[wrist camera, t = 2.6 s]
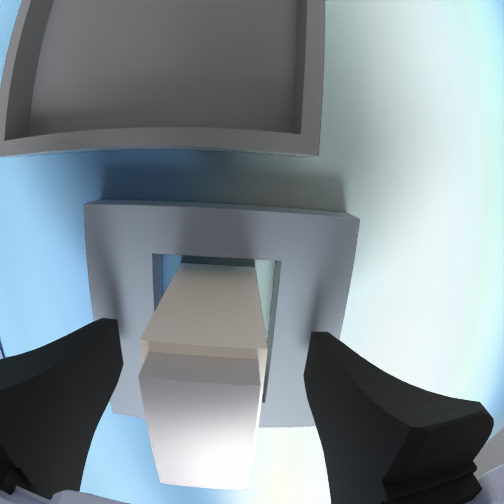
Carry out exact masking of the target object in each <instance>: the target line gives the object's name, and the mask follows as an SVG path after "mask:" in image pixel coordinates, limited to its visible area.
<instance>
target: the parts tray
mask: <svg viewBox="0 0 504 504" xmlns="http://www.w3.org/2000/svg"><path fill="white" fill-rule="evenodd" d="M324 34H325V0H22V2H21V5H20V8H19V11H18V15H17V18H16V21H15V25H14V28H13V32H12V35H11V39H10V43H9V47H8V51H7V56H6V60H5V65H4V70H3V76H2V81H1V87H0V157H18V156H34V155H44V154H56V153H69V152H84V151H105V150H149V149H164V150H209V151H231V152H248V153H262V154H274V155H285V156H296V157H310V156H319V143H320V128H321V112H322V93H323V70H324Z"/></svg>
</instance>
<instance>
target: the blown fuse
mask: <svg viewBox="0 0 504 504" xmlns="http://www.w3.org/2000/svg"><path fill="white" fill-rule="evenodd" d="M140 346H141V355H142V363H143V366H142V368H141V370H140V373H139V375H138V378H139V384H140V390H141V396H142V402H143V407H144V413H145V418H146V423H147V428H148V433H149V437H150V442H151V446H152V451H153V455H154V459H155V463H156V467H157V471H158V475H159V479H160V483H165V484H173V485H181V486H190V487H201V488H215V489H239V490H248V484H249V477H250V470H253V463H254V456H255V449H256V441H257V434H258V426H259V418H260V410H261V402H262V394H263V386H264V377H265V369H266V360H267V351H268V347H267V340H266V334H265V327H264V321H263V314H262V308H261V301H260V295H259V288H258V282H257V275H256V269H255V267H240V266H223V265H205V264H189V263H181V264H180V266H179V268H178V270H177V271H176V273H175V275H174V277H173V279H172V280H171V282H170V284H169V286H168V288H167V289H166V291H165V293H164V295H163V297H162V299H161V301H160V302H159V304H158V306H157V308H156V310H155V312H154V314H153V315H152V317H151V319H150V321H149V323H148V325H147V327H146V329H145V331H144V333H143V335H142V336H141V338H140Z"/></svg>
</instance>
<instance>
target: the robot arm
mask: <svg viewBox="0 0 504 504" xmlns="http://www.w3.org/2000/svg"><path fill="white" fill-rule="evenodd" d="M123 365H124V362H123V356H122V350H121V343H120V335H119V328H118V319H110V318H101V319H98V320H96V321H94V322H92V323H90V324H88V325H86V326H84V327H82V328H80V329H78V330H76V331H74V332H72V333H70V334H68V335H66V336H64V337H62V338H60V339H58V340H56V341H54V342H51V343H49V344H47V345H45V346H42V347H40V348H37V349H35V350H32V351H29V352H26V353H23V354H19V355H15V356H11V357H7V358H3V356H2V353H1V350H0V504H129V503H124V502H120V501H116V500H111V499H107V498H104V497H100V496H96V495H93V494H89V493H83V492H79V491H80V485H81V480H82V475H83V471H84V466H85V462H86V459H87V455H88V451H89V448H90V445H91V441H92V438H93V435H94V432H95V430H96V427H97V425H98V423H99V421H100V419H101V417H102V415H103V413H104V411H105V409H106V406H107V404H108V402H109V400H110V398H111V396H112V394H113V392H114V390H115V388H116V386H117V383H118V381H119V378H120V374H121V371H122V368H123ZM303 377H304V383H305V390H306V395H307V399H308V403H309V406H310V409H311V412H312V415H313V418H314V422H315V425H316V428H317V431H318V434H319V437H320V440H321V444H322V447H323V451H324V457H325V462H326V468H327V474H328V481H329V488H330V496H331V504H504V464H502V465H500V466H499V467H497V468H495V469H493V470H491V471H488V472H486V473H485V474H483V475H482V476H481V477H480V478H478V479H476V477H475V476H474V474H473V473H474V472H475V471H476V470H477V466H476V465H475V463H474V462H473V460H474V458H475V457H476V456H477V454H478V453H479V451H480V450H481V448H482V447H483V446H484V444H485V443H486V441H487V440H488V438H489V436H490V434H491V432H492V429H493V425H494V420H493V418H492V416H491V415H490V414H489V413H488V411H487V410H486V409H485V408H484V406H483V405H482V404H481V403H480V402H476V401H469V400H463V399H457V398H451V397H447V396H443V395H440V394H436V393H433V392H429V391H426V390H424V389H421V388H418V387H416V386H413V385H410V384H408V383H406V382H404V381H401V380H400V379H398V378H396V377H394V376H392V375H390V374H388V373H386V372H384V371H382V370H381V369H379V368H378V367H376V366H374V365H373V364H371V363H370V362H368V361H367V360H365V359H364V358H362V357H361V356H360V355H358V354H357V353H356V352H354V351H353V350H352V349H350V348H349V347H348V346H346V345H345V344H344V343H342V342H341V341H340V340H338V339H337V338H336V337H335V336H333V335H332V334H330V333H329V332H311V337H310V343H309V348H308V354H307V359H306V364H305V370H304V375H303Z"/></svg>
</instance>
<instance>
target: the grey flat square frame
mask: <svg viewBox="0 0 504 504" xmlns="http://www.w3.org/2000/svg"><path fill="white" fill-rule="evenodd" d="M84 216H85V240H86V255H87V267H88V278H89V287H90V296H91V304H92V311H93V318H94V321H96V320H98V319H101V318H110V319H118V328H119V335H120V343H121V350H122V356H123V362H124V365H123V368H122V371H121V374H120V378H119V381H118V383H117V386H116V388H115V390H114V392H113V394H112V396H111V398H110V403H111V407H112V411H113V413H117V414H122V415H128V416H134V417H140V418H145V413H144V407H143V402H142V396H141V390H140V384H139V378H138V375H139V373H140V370H141V368H142V366H143V363H142V355H141V346H140V338H141V336H142V335H143V333H144V331H145V329H146V327H147V325H148V323H149V321H150V319H151V317H152V315H153V314H154V312H155V310H156V308H157V306H158V304H159V302H160V301H161V299H162V297H163V290H162V254H172V255H189V256H206V257H223V258H241V259H259V260H276V265H275V275H274V285H273V295H272V305H271V315H270V324H269V334H268V343H267V347H268V351H267V360H266V369H265V377H264V386H263V394H262V402H261V410H260V418H259V426H258V427H302V426H316V425H315V422H314V418H313V415H312V412H311V409H310V406H309V403H308V399H307V395H306V390H305V383H304V377H303V375H304V370H305V364H306V359H307V354H308V348H309V343H310V337H311V332H329V333H330V334H332V335H333V336H335V337H336V338H337V339H338V340H339V338H340V333H341V328H342V324H343V319H344V314H345V309H346V303H347V298H348V293H349V287H350V281H351V276H352V270H353V264H354V257H355V251H356V244H357V237H358V230H359V222H360V219H359V218H357V217H355V216H353V215H351V214H349V213H346V212H335V211H324V210H313V209H300V208H288V207H274V206H259V205H244V204H226V203H207V202H185V201H156V200H111V199H100V200H97V201H93V202H90V203H87V204H84Z"/></svg>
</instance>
